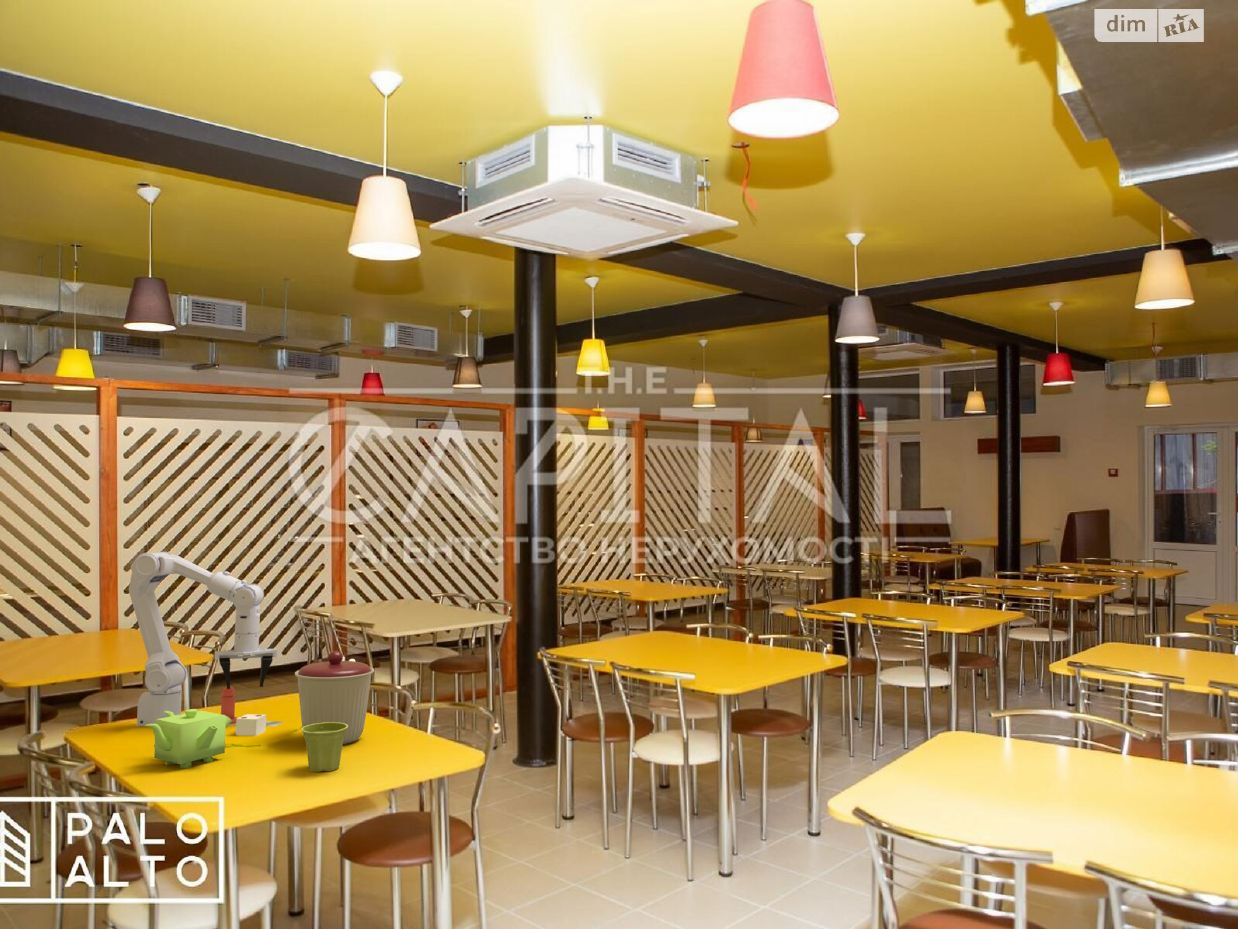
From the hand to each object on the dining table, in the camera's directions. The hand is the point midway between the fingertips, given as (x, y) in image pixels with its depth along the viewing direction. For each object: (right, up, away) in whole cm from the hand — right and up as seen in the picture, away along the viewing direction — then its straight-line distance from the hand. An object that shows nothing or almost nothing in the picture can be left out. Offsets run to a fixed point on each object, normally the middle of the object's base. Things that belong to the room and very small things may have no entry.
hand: (244, 687), depth 228 cm
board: (-2, -10, +1) cm, 10 cm away
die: (+6, -10, -10) cm, 15 cm away
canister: (+26, -10, -13) cm, 31 cm away
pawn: (-5, -9, +1) cm, 10 cm away
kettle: (+1, -9, -32) cm, 33 cm away
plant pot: (+32, -9, -36) cm, 49 cm away
